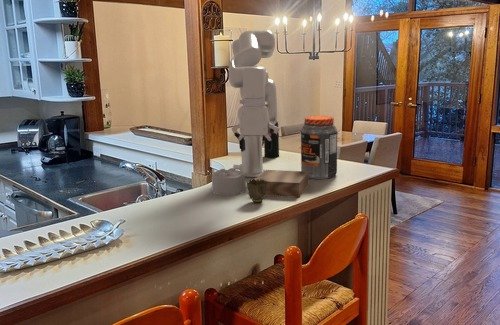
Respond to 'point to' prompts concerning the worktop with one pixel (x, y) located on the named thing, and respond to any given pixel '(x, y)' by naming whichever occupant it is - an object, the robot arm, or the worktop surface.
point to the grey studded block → (228, 182)
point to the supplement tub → (319, 147)
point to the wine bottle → (275, 145)
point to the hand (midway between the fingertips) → (255, 151)
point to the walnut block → (285, 182)
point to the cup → (257, 189)
